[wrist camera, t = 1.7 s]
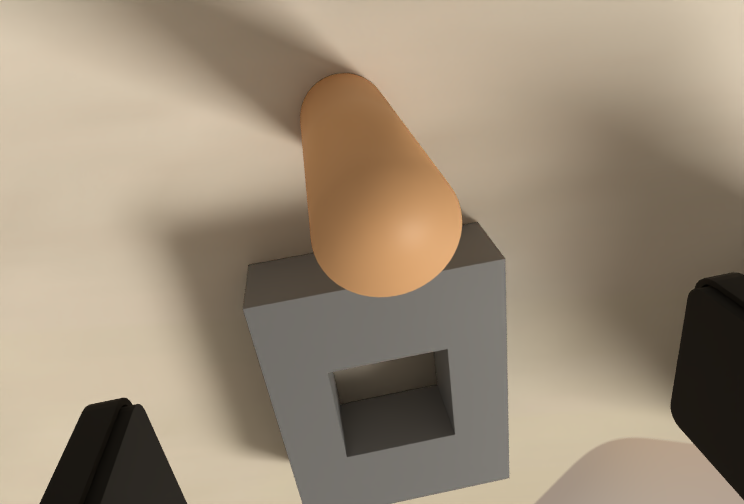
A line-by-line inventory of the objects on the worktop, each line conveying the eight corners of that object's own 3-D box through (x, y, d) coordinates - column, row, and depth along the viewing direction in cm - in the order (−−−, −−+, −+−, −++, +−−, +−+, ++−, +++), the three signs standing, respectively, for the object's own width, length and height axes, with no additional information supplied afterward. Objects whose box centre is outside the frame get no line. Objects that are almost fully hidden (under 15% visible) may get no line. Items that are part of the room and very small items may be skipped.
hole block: (248, 265, 27) (242, 309, 24) (477, 222, 28) (505, 258, 24) (305, 465, 34) (307, 521, 31) (487, 427, 35) (509, 478, 32)
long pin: (291, 81, 23) (295, 174, 13) (381, 66, 24) (457, 145, 13) (309, 167, 25) (325, 309, 15) (392, 153, 26) (466, 282, 15)
